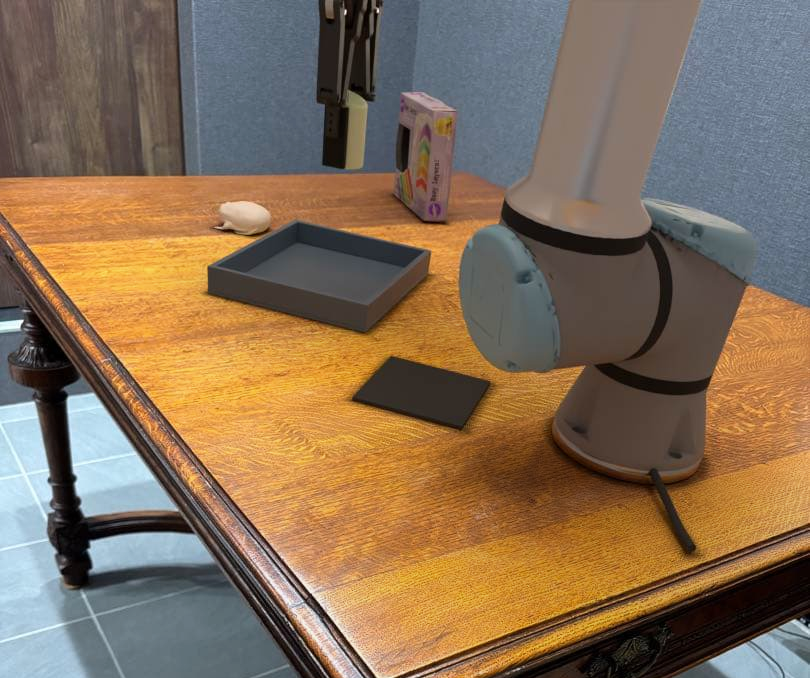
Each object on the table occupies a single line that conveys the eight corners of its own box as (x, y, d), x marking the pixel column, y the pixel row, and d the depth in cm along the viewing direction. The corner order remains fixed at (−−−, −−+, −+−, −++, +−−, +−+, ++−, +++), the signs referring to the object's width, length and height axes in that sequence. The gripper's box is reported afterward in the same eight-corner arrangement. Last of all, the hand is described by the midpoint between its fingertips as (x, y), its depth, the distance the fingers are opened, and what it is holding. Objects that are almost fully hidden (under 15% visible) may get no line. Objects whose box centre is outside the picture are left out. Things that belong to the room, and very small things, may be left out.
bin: (365, 333, 99) (367, 305, 97) (207, 293, 103) (206, 265, 101) (428, 274, 119) (431, 250, 117) (294, 243, 123) (295, 219, 121)
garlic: (209, 228, 124) (209, 202, 121) (230, 218, 129) (230, 193, 127) (257, 239, 122) (257, 213, 120) (276, 228, 128) (277, 203, 125)
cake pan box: (388, 192, 153) (399, 87, 143) (413, 193, 155) (426, 89, 144) (420, 223, 139) (434, 109, 129) (447, 224, 141) (463, 111, 130)
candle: (370, 167, 100) (377, 92, 95) (347, 172, 96) (352, 94, 91) (338, 158, 102) (342, 84, 97) (313, 162, 98) (317, 86, 93)
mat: (461, 429, 82) (462, 426, 82) (351, 400, 84) (352, 396, 84) (490, 384, 91) (490, 381, 91) (390, 358, 94) (391, 355, 93)
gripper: (356, -74, 93) (342, 146, 107) (287, -86, 79) (282, 169, 93) (417, -65, 91) (396, 156, 105) (359, -76, 77) (342, 182, 91)
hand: (342, 162), depth 99 cm, fingers closed on candle, 5 cm apart
